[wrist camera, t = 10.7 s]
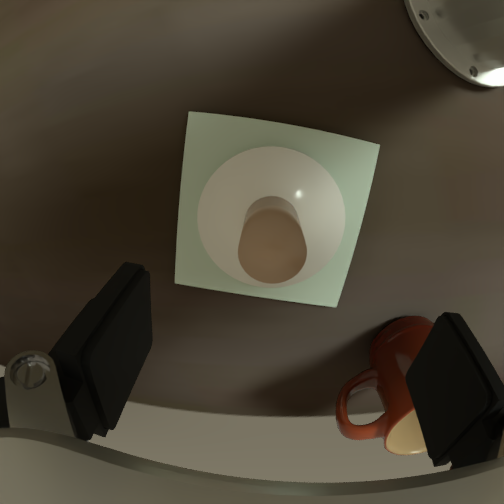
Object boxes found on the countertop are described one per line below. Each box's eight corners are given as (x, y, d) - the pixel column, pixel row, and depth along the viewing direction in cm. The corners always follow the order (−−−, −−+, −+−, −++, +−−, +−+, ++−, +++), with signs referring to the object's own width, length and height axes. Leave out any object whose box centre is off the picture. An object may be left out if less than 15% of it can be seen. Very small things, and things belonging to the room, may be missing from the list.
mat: (190, 111, 20) (188, 111, 19) (377, 144, 20) (379, 144, 19) (176, 279, 25) (174, 283, 24) (335, 303, 25) (336, 307, 25)
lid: (207, 136, 20) (185, 144, 14) (355, 160, 20) (386, 177, 15) (195, 270, 24) (175, 316, 18) (324, 289, 24) (338, 338, 19)
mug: (447, 295, 25) (503, 369, 15) (432, 363, 28) (468, 437, 19) (323, 318, 26) (344, 414, 17) (325, 385, 29) (338, 472, 20)
